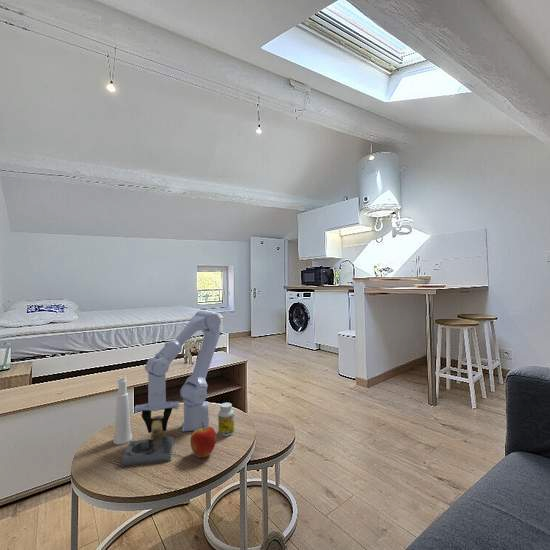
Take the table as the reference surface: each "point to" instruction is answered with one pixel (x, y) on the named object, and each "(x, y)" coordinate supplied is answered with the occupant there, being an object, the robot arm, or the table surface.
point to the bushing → (157, 427)
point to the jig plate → (157, 451)
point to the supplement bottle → (226, 419)
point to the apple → (203, 441)
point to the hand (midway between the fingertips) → (157, 430)
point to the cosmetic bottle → (122, 414)
